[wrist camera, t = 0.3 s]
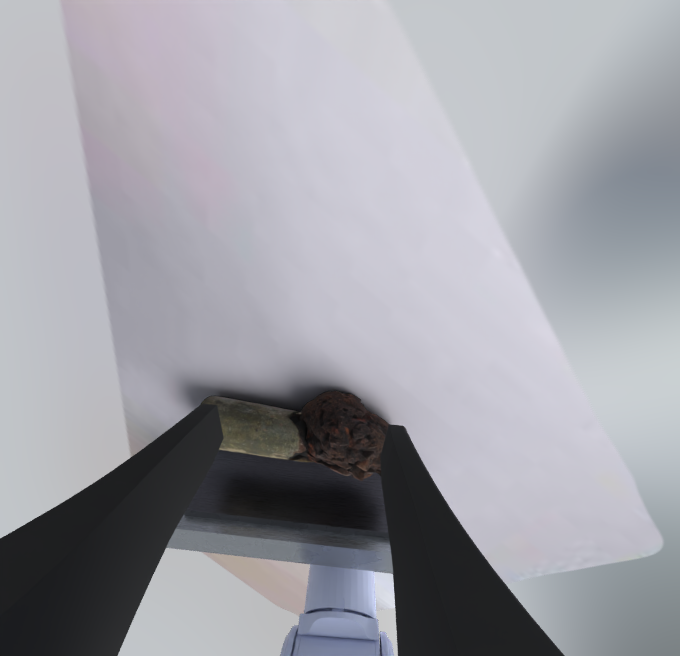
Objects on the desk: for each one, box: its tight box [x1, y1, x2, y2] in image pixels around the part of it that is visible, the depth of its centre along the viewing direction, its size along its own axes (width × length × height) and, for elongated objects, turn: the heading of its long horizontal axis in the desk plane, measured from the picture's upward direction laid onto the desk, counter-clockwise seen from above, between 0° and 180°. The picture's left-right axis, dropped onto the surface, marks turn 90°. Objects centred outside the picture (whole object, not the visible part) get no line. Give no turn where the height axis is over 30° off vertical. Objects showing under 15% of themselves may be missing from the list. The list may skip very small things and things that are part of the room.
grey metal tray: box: [166, 450, 393, 574], centre depth 24 cm, size 5×24×7 cm, turn 85°
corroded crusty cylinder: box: [201, 391, 389, 481], centre depth 20 cm, size 18×7×6 cm, turn 83°
